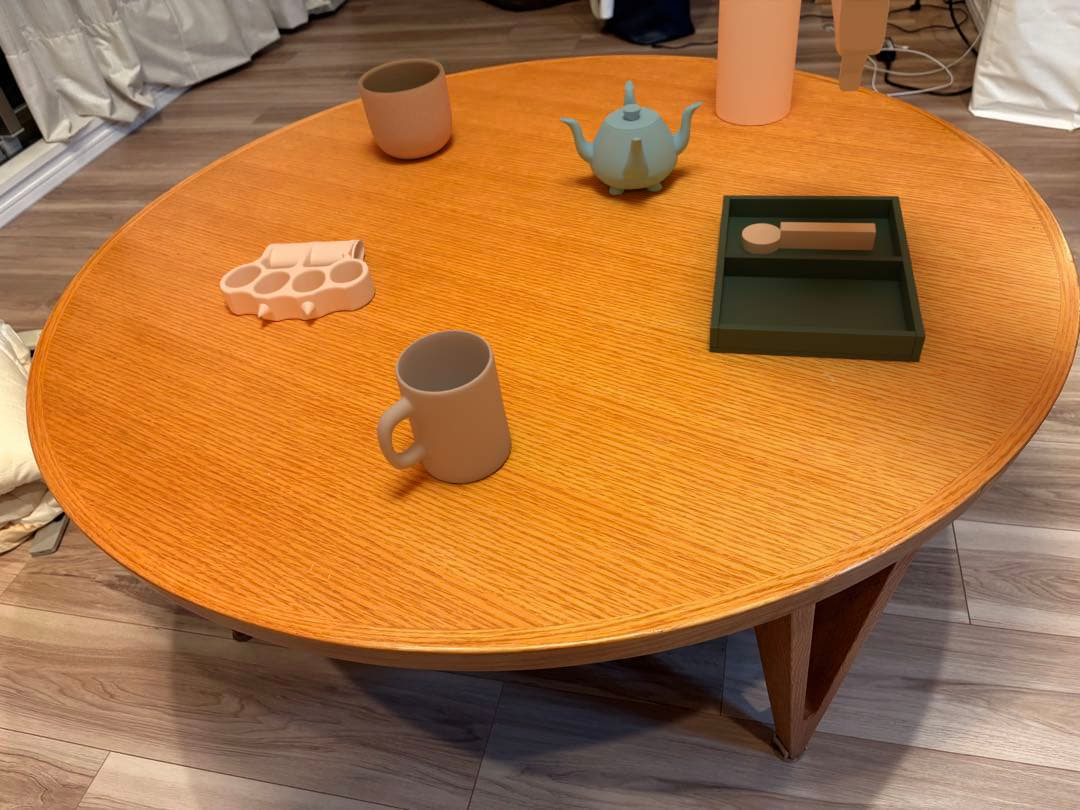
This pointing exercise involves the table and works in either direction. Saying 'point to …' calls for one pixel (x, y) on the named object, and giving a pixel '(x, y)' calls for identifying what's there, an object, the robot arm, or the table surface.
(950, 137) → the table surface
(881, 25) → the robot arm
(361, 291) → the knuckle duster
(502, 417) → the mug
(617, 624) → the table surface
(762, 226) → the spoon
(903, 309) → the tray
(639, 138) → the teapot
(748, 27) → the tall pillar cylinder
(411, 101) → the planter
